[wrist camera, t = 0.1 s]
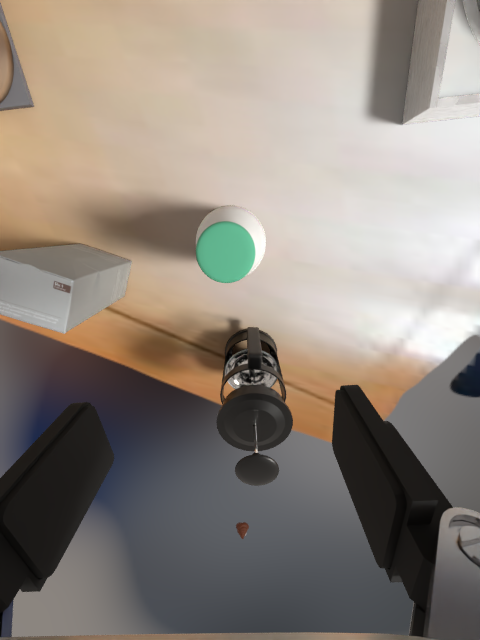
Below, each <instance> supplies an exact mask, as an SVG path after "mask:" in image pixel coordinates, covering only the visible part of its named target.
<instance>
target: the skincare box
mask: <svg viewBox="0 0 480 640" xmlns="http://www.w3.org/2000/svg"><path fill="white" fill-rule="evenodd" d="M131 263H132V261H130V260H127V259H125V258H122V257H119V256H116V255H113V254H110V253H107V252H104V251H101V250H98V249H95V248H92V247H89V246H86V245H83V244H72V245H60V246H50V247H39V248H28V249H16V250H5V251H0V314H1V315H4V316H7V317H11V318H14V319H17V320H20V321H24V322H27V323H30V324H34V325H37V326H40V327H44V328H47V329H51V330H54V331H57V332H61V333H66V332H67V331H69V330H70V329H72V328H74V327H75V326H77V325H79V324H80V323H82V322H83V321H85V320H87V319H88V318H90V317H92V316H93V315H95V314H96V313H98V312H100V311H101V310H103V309H104V308H106V307H108V306H109V305H111V304H113V303H114V302H116V301H117V300H119V299H121V298H122V297H124V296H125V292H126V287H127V282H128V278H129V273H130V268H131Z"/></svg>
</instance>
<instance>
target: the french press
mask: <svg viewBox="0 0 480 640" xmlns="http://www.w3.org/2000/svg"><path fill="white" fill-rule="evenodd" d="M244 340H247V349H244V350H241V351H239V352H237V353H236V354H234V355H233V356H232V350H233V347H234V345H235V344H237V343H239V342H241V341H244ZM261 341H263V342H265V343H266V344H267V345H268V347H269V349H270V355H269V354H268V353H267V352H265V351H263V350H262V349H261ZM225 374H226V376H225ZM277 379H278V380H279V384H280V388H281V393H282V397H281V396H280V394H279V393H277V392H276V391H275V390H273V389H271V387H272V386H273V385H274V384H275V382H276V380H277ZM227 381H228V382H229V384H230V385H231V386H232V387H233V388H234V389H235V390H234V391H232V392H231V393H230V394H229V395H228V396H227V397H226V399H225V398H224V395H223V390H224V385H225V383H226V382H227ZM220 396H221V402H222V404H223V405H222V407H221V409H220V410H219V413H218V415H217V429H218V431H219V433H220V435H221V436H222V438H223V439H224V440H225V441H226V442H227V443H229V444H230V445H232V446H234V447H236V448H238V449H242V450H246V451H254V453H253V454H252V455H249V456H246V457H244V458H242V459H241V460H240V461H239V462H238V463H237V465H236V467H235V472H236V475H237V477H238V478H239V479H240V480H241V481H242V482H244V483H246V484H249V485H255V486H258V485H265V484H268V483H270V482H272V481H273V480H274V479H275V478H276V477H277V475H278V472H279V467H278V464H277V463H276V462H275V461H274V460H273V459H272V458H270V457H268V456H265V455H260V454H259V453H258V451H262V450H267V449H270V448H273V447H275V446H277V445H279V444H280V443H281V442H283V441H284V440H285V439H286V438H287V437H288V435H289V434H290V432H291V429H292V425H293V419H292V415H291V411H290V410H289V408H288V406H287V405H286V404H285V399H286V390H285V386H284V382H283V378H282V374H281V369H280V365H279V361H278V357H277V348H276V344H275V342H274V340H273V339H272V338H271V337H270V336H269V335H268V334H267V333H265V332H263V331H260V330H259V328H257V327H248V328H247V329H246V330H242V331H239V332H237V333H236V334H234V335H233V336H232V337H231V338H230V339H229V341H228V342H227V345H226V348H225V364H224V371H223V379H222V386H221V394H220Z"/></svg>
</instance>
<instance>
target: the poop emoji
mask: <svg viewBox="0 0 480 640" xmlns="http://www.w3.org/2000/svg"><path fill="white" fill-rule="evenodd" d="M236 528H237V532H238V533H239V535H240V537H241V538H242V539H244V536H245V535H246V532H247V530H248V529H249V525H248V524H247V523H246V522H243V523H240V522H239V523H237V524H236Z"/></svg>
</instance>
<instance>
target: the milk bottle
mask: <svg viewBox="0 0 480 640" xmlns="http://www.w3.org/2000/svg"><path fill="white" fill-rule="evenodd" d="M265 248H266V237H265V232H264V229H263V227H262V225H261V223H260V221H259V220H258V219H257V217H256V216H255V215H254V214H252V213H251V212H250V211H248V210H247V209H245V208H242V207H239V206H231V205H230V206H222V207H219V208H217V209H215V210H213V211H211V212H210V213H209V214H208V215H207V216H206V217H205V218H204V219H203V221H202V222H201V224H200V226H199V228H198V231H197V235H196V258H197V261H198V264H199V266H200V268H201V270H202V271H203V272H204V273H205V274H206V275H207V276H208V277H209V278H211V279H213V280H215V281H217V282H221V283H231V282H235V281H238V280H240V279H242V278H243V277H245V276H246V275H248V274H250V273H251V272H252V271H254V270H255V269H256V268H257V266H258V265H259V264H260V262H261V260H262V258H263V256H264V253H265Z"/></svg>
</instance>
